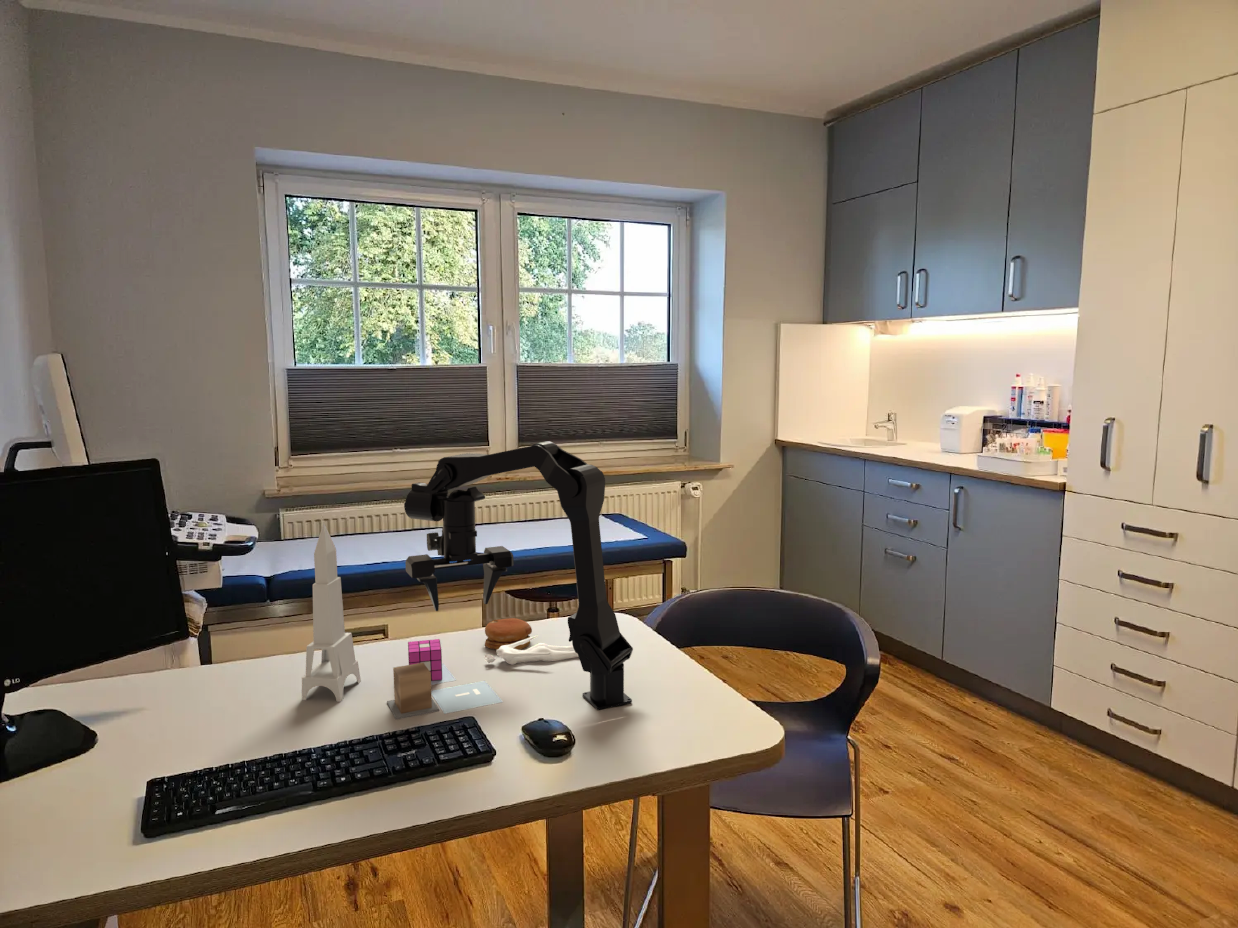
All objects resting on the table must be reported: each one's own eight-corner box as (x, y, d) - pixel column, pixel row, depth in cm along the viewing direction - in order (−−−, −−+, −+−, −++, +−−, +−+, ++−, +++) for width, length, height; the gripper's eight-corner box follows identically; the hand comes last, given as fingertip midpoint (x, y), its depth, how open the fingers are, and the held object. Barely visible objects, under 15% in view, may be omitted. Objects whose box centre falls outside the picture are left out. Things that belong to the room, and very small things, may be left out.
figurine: (602, 650, 166) (480, 654, 157) (603, 632, 165) (481, 636, 157) (619, 669, 156) (489, 674, 148) (620, 650, 155) (491, 654, 147)
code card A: (503, 702, 136) (503, 701, 136) (444, 714, 132) (444, 713, 132) (485, 681, 145) (485, 680, 145) (429, 691, 141) (429, 690, 141)
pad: (439, 711, 133) (439, 708, 133) (395, 719, 130) (395, 717, 130) (428, 695, 139) (428, 692, 139) (387, 703, 136) (387, 700, 136)
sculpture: (361, 681, 145) (353, 517, 141) (340, 701, 137) (332, 527, 133) (324, 680, 145) (315, 516, 141) (301, 699, 137) (292, 526, 133)
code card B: (456, 680, 145) (456, 679, 145) (405, 689, 141) (405, 689, 141) (443, 663, 153) (443, 662, 153) (395, 671, 149) (395, 671, 149)
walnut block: (431, 707, 133) (430, 672, 133) (401, 713, 131) (399, 678, 130) (424, 696, 138) (423, 662, 137) (394, 701, 136) (393, 667, 135)
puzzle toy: (409, 683, 144) (408, 652, 143) (409, 671, 149) (407, 641, 148) (442, 679, 145) (441, 649, 145) (440, 668, 151) (439, 638, 150)
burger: (524, 654, 159) (524, 631, 158) (478, 651, 160) (477, 629, 159) (536, 636, 168) (536, 615, 168) (492, 635, 170) (492, 613, 169)
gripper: (494, 511, 158) (496, 589, 160) (397, 520, 150) (400, 602, 152) (513, 522, 148) (515, 604, 150) (411, 532, 140) (414, 619, 142)
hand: (461, 607), depth 149 cm, fingers open, 9 cm apart
